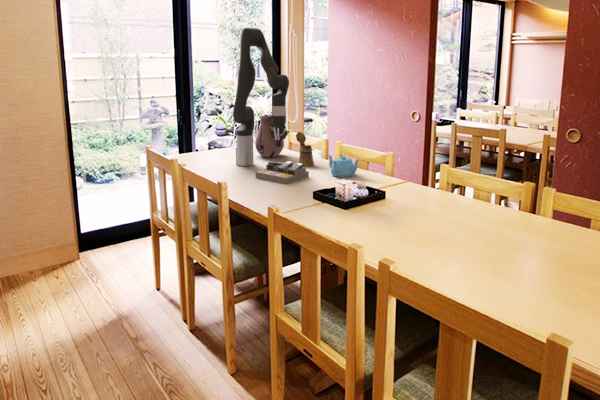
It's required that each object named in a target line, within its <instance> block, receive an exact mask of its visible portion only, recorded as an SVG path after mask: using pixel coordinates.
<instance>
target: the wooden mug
mask: <svg viewBox="0 0 600 400" xmlns="http://www.w3.org/2000/svg"><path fill="white" fill-rule="evenodd" d="M295 138H296V140H297V141H296V142H298V143H299V158H298V162H297V163H301V164H304V167H306V168H309V167H313V166H314V165H315V162H314V158H313V147H312V145H310V144H308V145H307V144H306V143H305V142H306V139H307V138H306V135H305V134H304V133H303V132H301V131H298V132H297V133H296V135H295Z"/></svg>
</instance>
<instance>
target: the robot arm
mask: <svg viewBox="0 0 600 400" xmlns="http://www.w3.org/2000/svg"><path fill="white" fill-rule="evenodd" d="M239 41H240V42H239V43H240V44H239V48H240V49H239V51H240V54H239V56H240V57H239V66H238V67H239V68H238V74H237V86H236V87H237V88H236V94H235V95H236V96H235V101H234V105H233V110H232V111H233V112H232V116H233V121H234V122H235V123H236V124H240V125H239V127H238V128H237V129H236V133H235V134H236V147H235V164H236V165H238V166H241V167H250V166H253V165H254V130H255V112H254V109H253V108H252V106H249V105H247V102H248V98H249V96H250V94H251V93H252V90H253V89H254V86H255V83H256V68H255V66H254V63H253V61H252V58H251V47H256V48H257V49H258V51H260V58H259V60H260V64H261V65H260V66H261V67H262V69H263V71H264V73H265V75H266V78H267V82H268V86H269V87H270V88H271V89H273V90H278V91H277V92H276V93H273V94H272V96H271V97H272V98H271V115H272V123H273V124H272V127H271V128H269V129H268V130H269V132H270V134H271V135H272V137H273V138H274V139H275V140H276V147H281V145H282V140H285V139H286V138H287V136H288V134H289V133H290V130H287V127H286V123H287V108H286V105H287V104H286V101H287V100H286V99H287V94H288V92H289V91H288V90H289V86H290V80H289V77H288V75H286V74H278V73H279V70H280V69H279V66H278V64H277V63H276V60H275V59H274V58H273V56H272V54H271V50H270V49H269V46H268V44H267V40H266V37H265V35H264V33H263V32H262V30H261V29H260V28H256V27H244V28H243V29H242V30H241V32H240V39H239Z"/></svg>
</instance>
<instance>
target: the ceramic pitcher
mask: <svg viewBox="0 0 600 400" xmlns="http://www.w3.org/2000/svg"><path fill="white" fill-rule="evenodd" d="M259 118H260V125H259V127H258V131H257V135H256V138H255V150H256V152H257V153H258V154H259V155H260V156H261V157H265V158H275V157H278V156H279V155H280V154H281V152H282V151H283V149H284V147H285V144H284V143H285V142H284V140H285V139H283V140H282V145H281V147H276V140H275V139H274V138H273V137H272V135H271V134H270V132H269V130H268V129H269V128H271V127H272V124H273V123H272V114H271V115H269V114H263V115H260V116H259Z"/></svg>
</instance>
